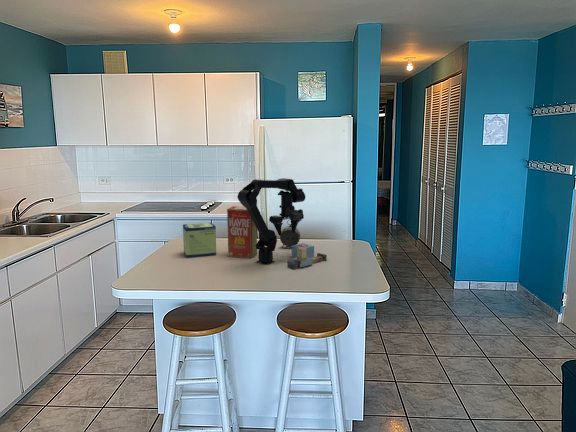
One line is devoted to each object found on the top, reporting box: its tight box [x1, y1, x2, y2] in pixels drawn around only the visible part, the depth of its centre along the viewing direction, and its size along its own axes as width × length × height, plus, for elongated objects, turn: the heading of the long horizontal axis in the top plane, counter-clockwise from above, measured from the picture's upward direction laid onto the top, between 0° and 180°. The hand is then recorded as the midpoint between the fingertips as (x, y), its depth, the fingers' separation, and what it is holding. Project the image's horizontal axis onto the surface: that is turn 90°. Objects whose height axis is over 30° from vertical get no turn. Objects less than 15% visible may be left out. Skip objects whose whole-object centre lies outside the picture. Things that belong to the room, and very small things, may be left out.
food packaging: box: [226, 205, 258, 259], centre depth 238 cm, size 13×9×25 cm
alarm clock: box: [279, 219, 301, 250], centre depth 253 cm, size 11×5×16 cm, turn 84°
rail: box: [286, 252, 328, 270], centre depth 225 cm, size 22×5×3 cm, turn 133°
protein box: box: [182, 222, 217, 259], centre depth 241 cm, size 10×16×16 cm
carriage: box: [290, 247, 313, 268], centre depth 221 cm, size 8×7×8 cm
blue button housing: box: [291, 242, 315, 258], centre depth 236 cm, size 8×8×6 cm
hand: (286, 234), depth 234 cm, fingers open, 9 cm apart
